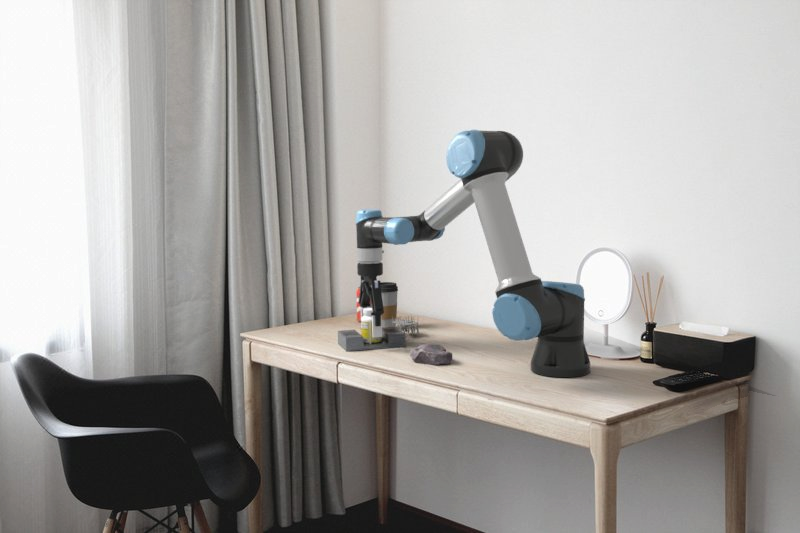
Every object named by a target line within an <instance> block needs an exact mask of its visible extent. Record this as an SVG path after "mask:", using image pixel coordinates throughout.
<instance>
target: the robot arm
mask: <svg viewBox="0 0 800 533" xmlns="http://www.w3.org/2000/svg"><path fill="white" fill-rule="evenodd" d="M445 159H446V166H447V168H448V170H449V172H450V173H451V175H454V176H455V177H456V178H459V180H458V181H456V183H454V184H453V185H452V186H451V187H450V188H449V189H447V190H446V191H445V192H444V193H443V194H442V195H441V196H440V197H438V198H437V199H436V200H435V201H434V202H433V203H432V204H431V205H429V206H428V207H427V208H426V209H425V210H424V211H423V212H421V213H420V214H419V215H418V214H417V215H409V216H395V217H392V216H391V217H386V216H385V217H384V216H383V212H382V210H380V209H360V210H357V212H356V219H355V220H356V221H355V222H356V223H355V226H356V227H355V228H356V260H357V262H358V263H357V266H356V267H357V268H356V269H357V273H356V274H357V275H358V276H360V284H359V287H360V294H359V304H360V307H362V308H361V318H362V317H363V316H364V314H363V309H365V308H370V307H371V306H372V311H373V312H372V313H371V316H372V337H373V338H374V337H382V314H384V308H383V301H382V294H381V285H380V283H381V280H377V279H378V278H377V277H380V276H382V275H383V274H384V272H383V271H384V266H383V265H384V263H383V262H382V261H383V254H385V250H383V244H390V245H395V246H398V245H407V244H408V243H415V242H427V241H428V242H431V241H434V240H438V239H440V238H441V237H443V235H444V232H445V230H446V227H447V226H448V225H449V224H451V223H452V221H454V220H455V219H456V218H458V217H459V216H460V215H462V213H463V212H465V211H466V210H467V209H468V208H470V207H471V206H472V205H473V204H475V208H476V211H477V215H478V218H479V221H480V225H481V227H482V231H483V235H484V237H485V241H486V245H487V247H488V251H489V255H490V257H491V261H492V264H493V267H494V270H495V274H496V278H497V281H498V285H497V288H496V290H495V296H496V300H495V301H494V303H493V308H492V309H491V310H492V311H491V312H492V320H493V323H494V325H495V326H496V328H497V330H498V332H500V334H501V335H503V336H504V337H506V338H507V339H510V340H511V341H516V342H517V341H529V340H533V339H535V338H537V341H536V344H535V348H534V351H533V354H532V357H531V359H530V371H531V372H532V373H534V374H537V375H540V376H545V377H553V378H577V377H582V376H586V375H588V374H590V373H591V361H590V357H589V354H588V351H587V349H586V344H585V341H584V340H585V301H586V298H585V289H584V287H583V285H582V284H577V283H571V282H563V281H562V282H561V281H552V280H551V281H549V280H542V278H541V277H539V276H537V275H535V273H533V271H532V267H531V264H530V261H529V257H528V254H527V251H526V248H525V244H524V241H523V237H522V235H521V231H520V228H519V225H518V221H517V219H516V215H515V213H514V209H513V206H512V203H511V198H510V195H509V193H508V189H507V187H506V182H507V181H508V180H510V179H511V177H513V176H514V175H516V173H517V172H518V170H519V169H520V168H521V166H522V163H523V159H524V150H523V146H522V143H521V142H520V140H519V139H518V138H517V137H516V135H514V134H512V133H510V132H508V131H504V130H478V129H470V130H464V131H463V130H462V131H460V132H458V133H457V134H455V136H454V137H453V138H452V139H451V141H450V142H449V145H448V148H447V150H446V158H445ZM370 301H371V304H370Z"/></svg>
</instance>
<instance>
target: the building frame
mask: <svg viewBox="0 0 800 533" xmlns="http://www.w3.org/2000/svg"><path fill="white" fill-rule="evenodd" d="M416 319H417V320H416V321H415V320H413V317H412V316H410V318H409V317H407V319H401V318H400V317H399V318H397V317H396V318H395V321H393V317H392V321H393V323H395V325H396V326H397V328H398V329H399V330H401V331H402V332H404V333H405V334H406V336H408V334H411V335H413V337H414V336H415V333H416V334H417V335H416V336H417V338H418V337H420V334H419V333H420V330H419V317H417V318H416ZM415 325H417V327H415Z"/></svg>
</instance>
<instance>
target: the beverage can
mask: <svg viewBox="0 0 800 533" xmlns="http://www.w3.org/2000/svg"><path fill="white" fill-rule="evenodd" d="M355 294H356V321H358V322H359V323H361V308H362V307H360V304H359V294H360V286H357V289H356V293H355ZM370 304H371V301H370ZM370 308H372V306H371V307H370Z"/></svg>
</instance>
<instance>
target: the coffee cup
mask: <svg viewBox="0 0 800 533" xmlns="http://www.w3.org/2000/svg"><path fill="white" fill-rule="evenodd" d="M380 282H381V281H380ZM380 285H381V294H382V301H383V308H384V314H382V328H385V327H396V328H397V324H396V325H395V323H393V321H395V318H396V319H397V315H398V314H397V313H398V311H397V310H398V291H399V289H398V285H397V282H390V281H387V282H386V281H382V282H381V283H380ZM392 317H393V321H392Z"/></svg>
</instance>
